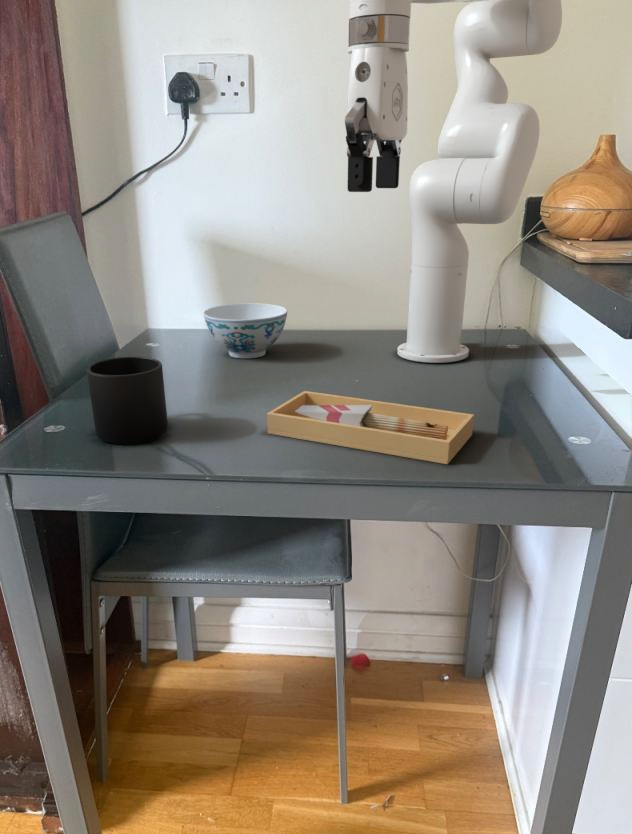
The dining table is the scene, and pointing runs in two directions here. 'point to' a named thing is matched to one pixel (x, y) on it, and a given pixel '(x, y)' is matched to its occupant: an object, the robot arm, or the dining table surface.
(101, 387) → the mug
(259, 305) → the chinaware
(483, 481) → the dining table surface
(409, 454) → the brush tray
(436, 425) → the folding fan
